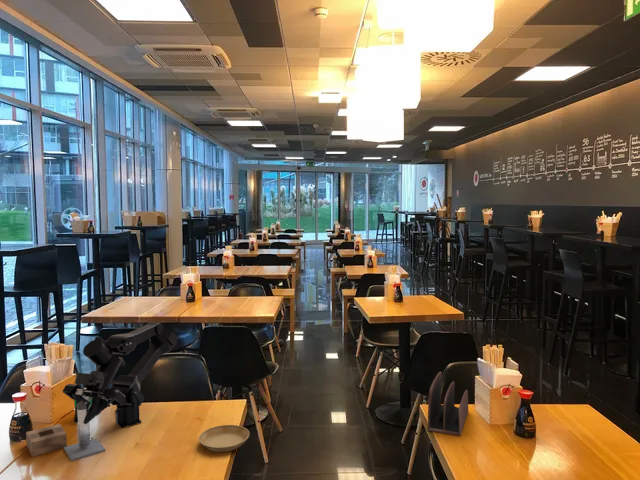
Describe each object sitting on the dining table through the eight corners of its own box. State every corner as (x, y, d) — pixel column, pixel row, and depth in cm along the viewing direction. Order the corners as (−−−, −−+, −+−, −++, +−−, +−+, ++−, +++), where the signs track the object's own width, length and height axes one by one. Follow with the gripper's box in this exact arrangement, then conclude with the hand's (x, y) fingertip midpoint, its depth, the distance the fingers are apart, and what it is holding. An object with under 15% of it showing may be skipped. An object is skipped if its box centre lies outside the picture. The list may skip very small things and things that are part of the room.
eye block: (60, 436, 152) (59, 423, 152) (66, 446, 145) (66, 433, 145) (26, 445, 147) (26, 432, 146) (31, 456, 140) (31, 442, 139)
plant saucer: (238, 458, 138) (238, 449, 138) (189, 453, 141) (189, 444, 141) (256, 435, 152) (256, 426, 152) (211, 431, 155) (211, 423, 155)
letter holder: (427, 431, 153) (427, 386, 152) (438, 407, 171) (439, 367, 170) (460, 436, 149) (460, 391, 148) (468, 412, 167) (468, 371, 166)
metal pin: (84, 441, 145) (82, 398, 144) (93, 443, 144) (91, 399, 143) (75, 446, 142) (73, 402, 141) (84, 448, 141) (82, 403, 140)
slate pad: (96, 440, 149) (96, 438, 149) (105, 450, 142) (105, 448, 142) (63, 449, 144) (63, 447, 144) (71, 461, 137) (71, 458, 137)
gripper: (65, 357, 148) (36, 407, 138) (117, 362, 143) (91, 415, 133) (86, 374, 156) (60, 423, 146) (136, 380, 151) (112, 430, 141)
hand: (79, 422), depth 141 cm, fingers closed on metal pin, 3 cm apart
